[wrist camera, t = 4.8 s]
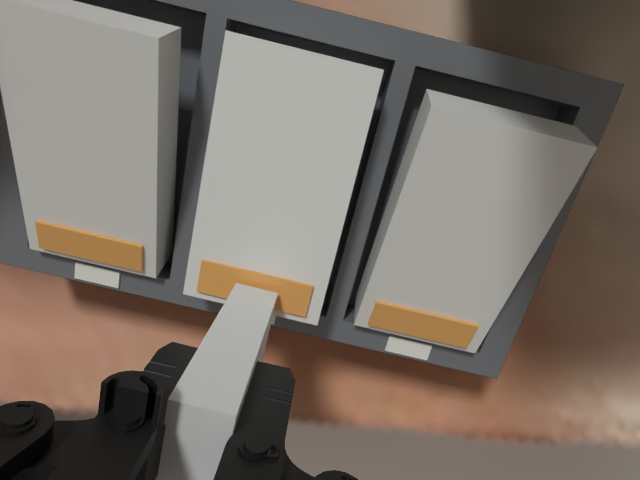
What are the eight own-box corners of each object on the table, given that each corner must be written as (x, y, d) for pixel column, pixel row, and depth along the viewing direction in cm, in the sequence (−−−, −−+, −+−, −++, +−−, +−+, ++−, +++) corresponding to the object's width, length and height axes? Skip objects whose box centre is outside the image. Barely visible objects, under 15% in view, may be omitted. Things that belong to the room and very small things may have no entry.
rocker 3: (355, 295, 20) (353, 327, 18) (426, 88, 15) (432, 107, 13) (468, 322, 20) (475, 356, 18) (576, 126, 15) (600, 149, 13)
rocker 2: (197, 276, 18) (181, 295, 17) (238, 37, 16) (224, 29, 14) (319, 304, 19) (316, 327, 17) (379, 73, 16) (384, 69, 14)
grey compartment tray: (-73, 206, 22) (-150, 229, 18) (-89, -84, 18) (-190, -122, 15) (474, 335, 23) (497, 380, 19) (574, 84, 19) (625, 84, 15)
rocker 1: (56, 224, 19) (27, 250, 18) (24, -12, 14) (-21, -5, 13) (173, 252, 20) (154, 280, 18) (181, 27, 15) (156, 39, 13)
